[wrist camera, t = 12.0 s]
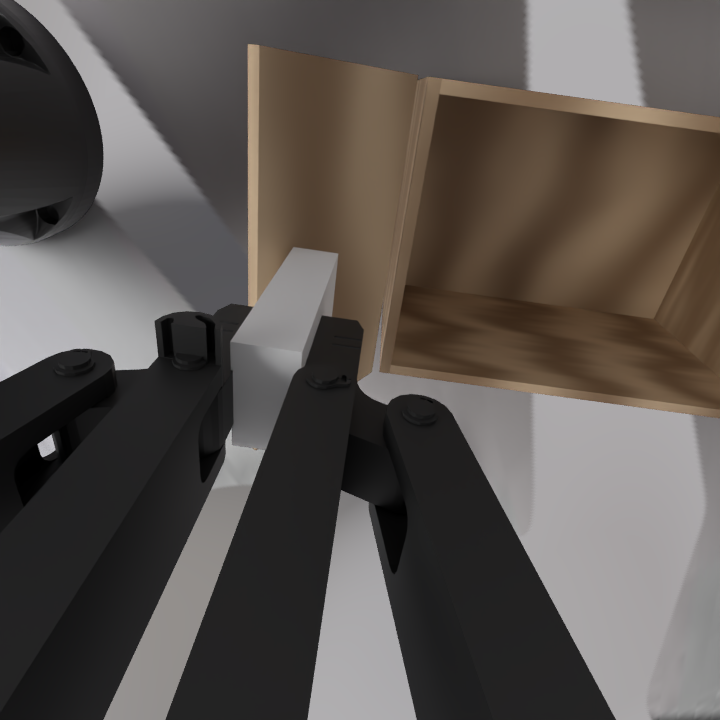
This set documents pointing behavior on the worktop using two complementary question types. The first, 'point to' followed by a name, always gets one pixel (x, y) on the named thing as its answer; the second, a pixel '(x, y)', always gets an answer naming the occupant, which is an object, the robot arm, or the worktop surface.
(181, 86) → the worktop surface
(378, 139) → the flap
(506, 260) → the carton
